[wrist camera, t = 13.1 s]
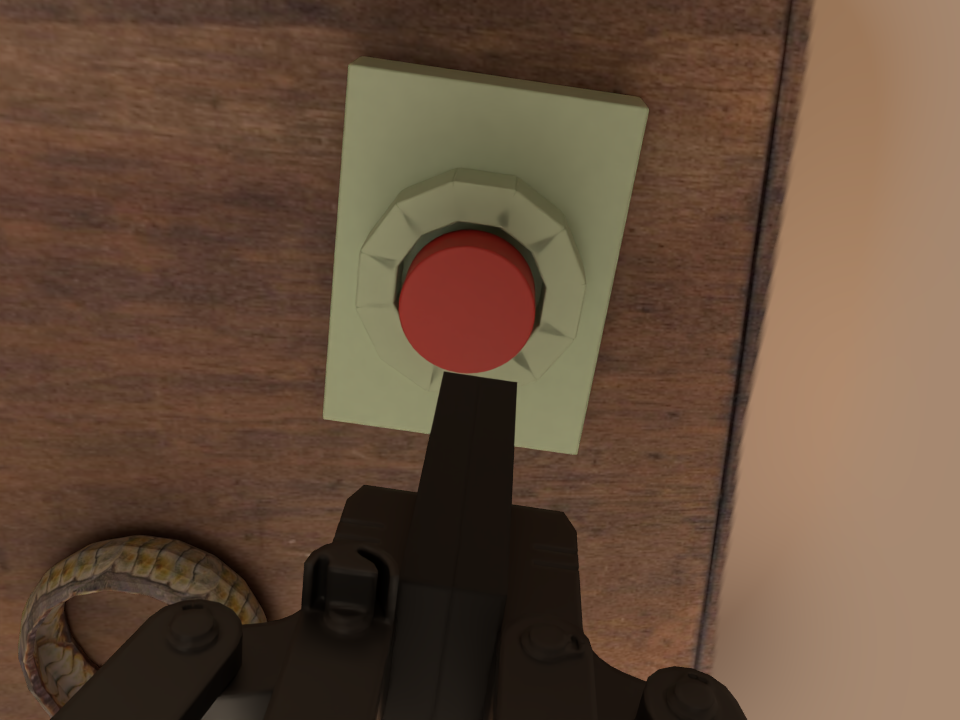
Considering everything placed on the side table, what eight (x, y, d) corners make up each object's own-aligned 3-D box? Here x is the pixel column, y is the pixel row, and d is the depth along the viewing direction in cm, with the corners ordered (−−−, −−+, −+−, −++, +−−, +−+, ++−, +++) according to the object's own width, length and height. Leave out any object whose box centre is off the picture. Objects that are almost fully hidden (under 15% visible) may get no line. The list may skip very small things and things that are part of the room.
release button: (412, 220, 27) (405, 236, 26) (544, 239, 27) (546, 257, 26) (399, 341, 29) (392, 364, 27) (524, 359, 29) (524, 383, 27)
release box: (360, 55, 29) (336, 71, 25) (641, 96, 29) (657, 118, 25) (334, 391, 34) (311, 445, 30) (574, 425, 34) (580, 483, 30)
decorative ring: (34, 506, 37) (50, 694, 41) (-10, 556, 34) (13, 753, 38) (286, 540, 37) (277, 724, 41) (265, 592, 34) (257, 785, 38)
